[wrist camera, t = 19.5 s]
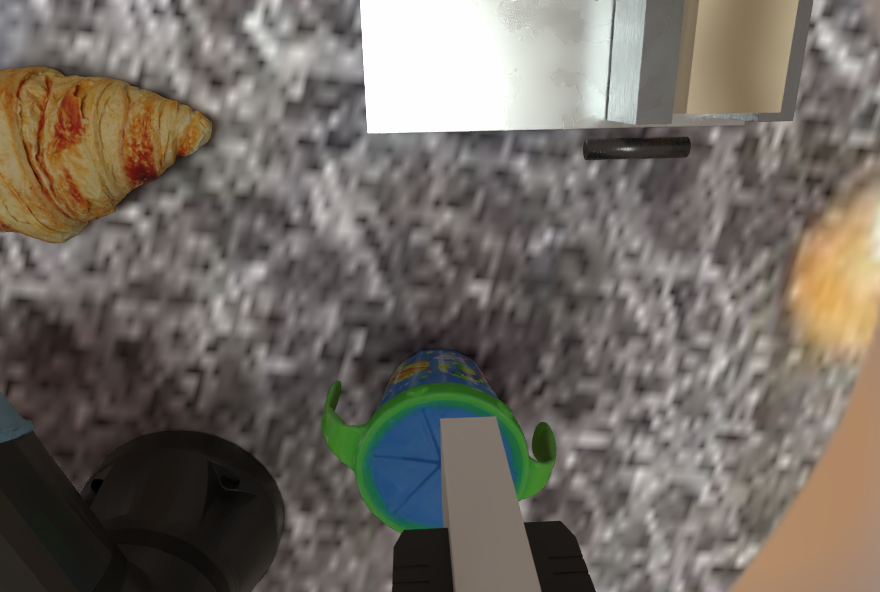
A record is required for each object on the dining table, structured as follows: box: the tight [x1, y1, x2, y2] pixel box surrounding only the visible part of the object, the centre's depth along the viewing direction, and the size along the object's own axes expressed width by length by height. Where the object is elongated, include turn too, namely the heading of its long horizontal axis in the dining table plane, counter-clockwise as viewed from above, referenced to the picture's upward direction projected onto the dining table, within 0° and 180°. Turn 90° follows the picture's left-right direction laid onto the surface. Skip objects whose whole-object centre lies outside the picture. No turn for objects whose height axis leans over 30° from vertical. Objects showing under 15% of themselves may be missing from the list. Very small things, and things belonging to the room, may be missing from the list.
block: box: [673, 0, 799, 114], centre depth 33 cm, size 5×8×7 cm, turn 1°
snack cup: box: [322, 349, 556, 533], centre depth 40 cm, size 16×10×10 cm
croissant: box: [0, 67, 212, 243], centre depth 36 cm, size 21×10×8 cm, turn 100°
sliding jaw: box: [583, 0, 691, 160], centre depth 34 cm, size 6×11×5 cm, turn 1°
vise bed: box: [360, 0, 745, 133], centre depth 37 cm, size 24×10×2 cm, turn 91°
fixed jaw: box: [715, 0, 813, 122], centre depth 34 cm, size 2×9×5 cm, turn 1°
